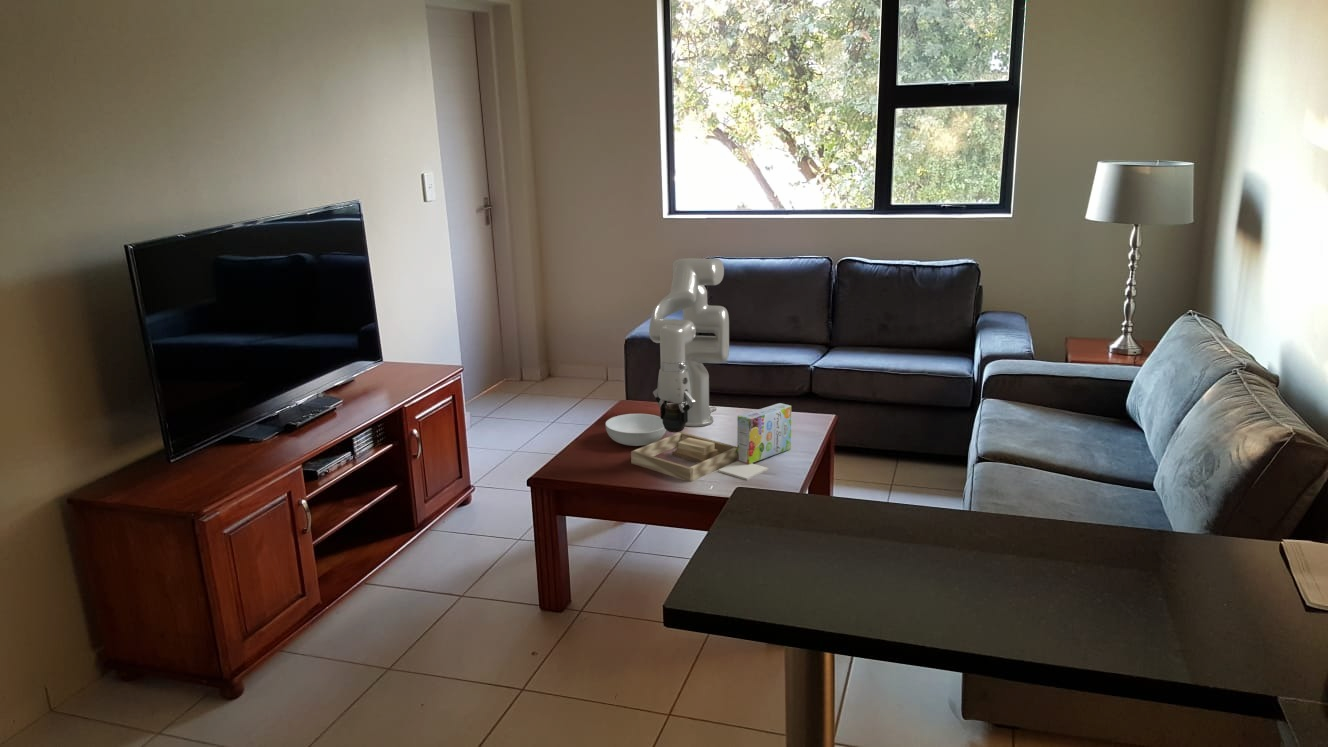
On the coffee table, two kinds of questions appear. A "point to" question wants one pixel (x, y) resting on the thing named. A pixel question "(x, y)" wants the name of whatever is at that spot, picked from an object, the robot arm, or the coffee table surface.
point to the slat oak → (698, 453)
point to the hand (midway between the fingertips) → (674, 420)
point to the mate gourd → (672, 418)
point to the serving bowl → (635, 429)
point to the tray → (647, 460)
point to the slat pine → (696, 445)
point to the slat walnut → (686, 457)
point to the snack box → (763, 433)
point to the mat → (743, 470)
